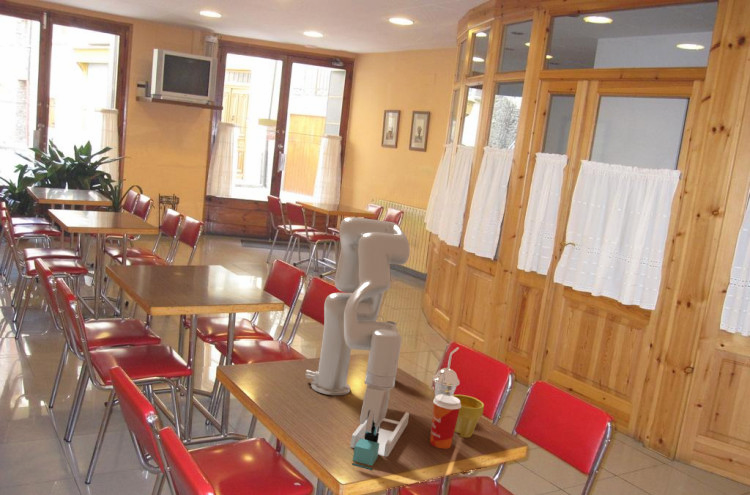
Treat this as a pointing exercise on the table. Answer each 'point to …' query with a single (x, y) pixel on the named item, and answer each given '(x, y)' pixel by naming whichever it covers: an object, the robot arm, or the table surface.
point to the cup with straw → (446, 379)
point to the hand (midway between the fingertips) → (369, 447)
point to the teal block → (365, 453)
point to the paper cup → (444, 420)
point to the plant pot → (468, 415)
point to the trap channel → (382, 435)
